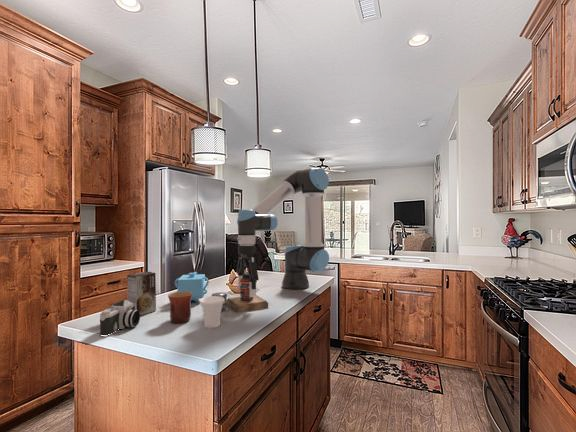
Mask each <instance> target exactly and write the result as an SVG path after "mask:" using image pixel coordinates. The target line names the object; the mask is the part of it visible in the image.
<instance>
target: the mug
mask: <svg viewBox="0 0 576 432" xmlns="http://www.w3.org/2000/svg"><path fill="white" fill-rule="evenodd" d="M192 294H193V293H192V292H187V291H182V292H177V291H175V292H171V293H169V294H168V295H167V297H168V300H169V303H170V304H169V306H170V307H169V317H170V318H169V319H170V322H171V323H172V324H178V325H180V324H185V323H188V322H189V321H190V320H191V315H192V313H191V311H192V310H191V308H192V306H191V301H192V300H191V298H192Z"/></svg>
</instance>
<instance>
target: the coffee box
mask: <svg viewBox="0 0 576 432" xmlns="http://www.w3.org/2000/svg"><path fill="white" fill-rule="evenodd" d="M126 279H127V281H126V285H127V286H126V287H127V288H126V289H127V292H126V294H127V300H126V301H129V302H132V303H133V307H132V310H138V311H139V313H140V316H143V315H146V314H150V313H153V312H156V311H157V293H156V291H157V289H156V288H157V287H156V286H157V285H156V283H157V282H156V272H152V271H148V270H147V271H141V272H136V273H131V274H130V273H129V274H127V275H126Z"/></svg>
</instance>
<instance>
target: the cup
mask: <svg viewBox="0 0 576 432" xmlns="http://www.w3.org/2000/svg"><path fill="white" fill-rule="evenodd" d="M223 302H224V298H223V297H220V296H212V295H211V296H210V295H209V296H203V298H201V299H200V298H199V304H200V306H201V308H202V312H203V319H204V324H203V325H204V327H205V328H210V329H211V328H216V327H219V326H220V325H221V312H222V311H221V309H222V305H223Z"/></svg>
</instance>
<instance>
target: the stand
mask: <svg viewBox="0 0 576 432" xmlns="http://www.w3.org/2000/svg"><path fill="white" fill-rule="evenodd" d="M227 307H229V308H230V309H231V310H233V311H234V312H235V313H237V314H238V313H242V312H243V313H244V312H248V311H256V309H257V310H261V309H262V308H263V309H267V308H268V309H269V302H268V301H267V300H266V299H264V298H262V297H260V296H259V295H257V294H256V297H253V299H252V300H250V301H243V300H241V299H240V295H239V296H233V297H232V296H231V297H227Z"/></svg>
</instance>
